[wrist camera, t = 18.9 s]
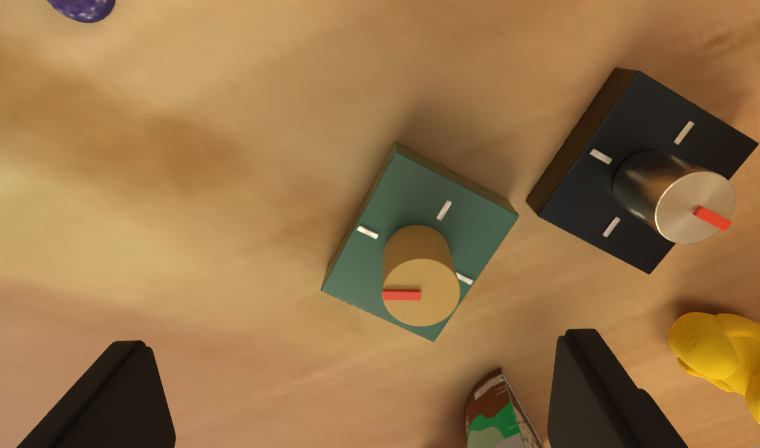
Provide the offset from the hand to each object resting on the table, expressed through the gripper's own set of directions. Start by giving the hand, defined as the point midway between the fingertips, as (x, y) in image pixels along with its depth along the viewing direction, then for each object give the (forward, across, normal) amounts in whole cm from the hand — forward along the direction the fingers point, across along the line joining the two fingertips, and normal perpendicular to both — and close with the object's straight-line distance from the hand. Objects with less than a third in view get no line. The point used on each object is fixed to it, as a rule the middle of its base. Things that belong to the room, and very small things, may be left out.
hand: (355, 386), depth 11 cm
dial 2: (+19, -17, +1) cm, 25 cm away
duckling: (+22, -25, +15) cm, 37 cm away
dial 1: (+19, -2, +6) cm, 20 cm away
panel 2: (+22, -16, +1) cm, 28 cm away
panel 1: (+22, -2, +6) cm, 23 cm away
